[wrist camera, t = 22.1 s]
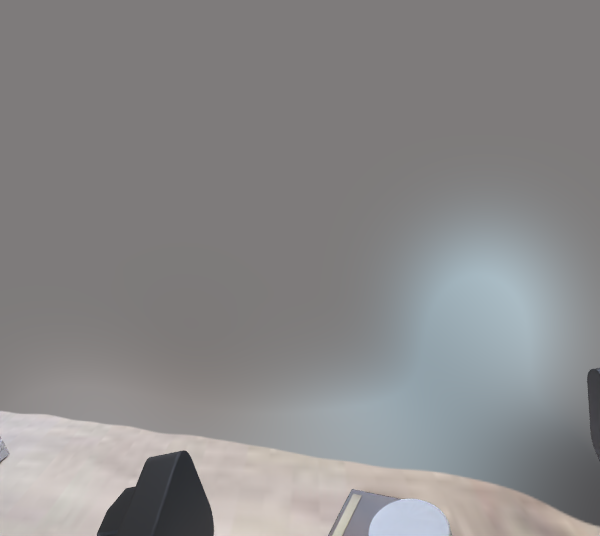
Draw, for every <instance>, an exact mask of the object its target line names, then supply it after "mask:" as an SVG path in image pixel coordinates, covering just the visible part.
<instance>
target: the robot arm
mask: <svg viewBox="0 0 600 536" xmlns="http://www.w3.org/2000/svg"><path fill="white" fill-rule="evenodd" d="M587 383H588V398H589V413H590V429H591V438H592V442H593V446H594V449H595V452H596V454H597V457H598V459H599V461H600V368H596V369H591V370H590V371H589V373H588V377H587ZM213 535H214V525H213V516H212V511H211V507H210V505H209V502H208V499H207V497H206V494H205V492H204V489H203V487H202V484H201V482H200V479H199V477H198V474H197V471H196V469H195V466H194V464H193V461H192V459H191V457H190V455H189V453H188V452H187V451H179V452H174V453H169V454H164V455H159V456H154V457H150V458H148V459H147V461H146V462H145V465H144V467H143V470H142V472H141V475H140V477H139V480H138V482H137V485H136V487H131V488H126V489H125V490H124V491H123V493H122V494H121V495H120V496H119V497H118V499H117V500H116V501H115V502H114V503H113V504H112V506H111V507H110V508H109V509H108V510H107V512H106V515H105V517H104V519H103V521H102V524H101V526H100V528H99V531H98V533H97V536H213Z"/></svg>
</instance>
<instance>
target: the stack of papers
mask: <svg viewBox="0 0 600 536" xmlns="http://www.w3.org/2000/svg"><path fill="white" fill-rule="evenodd" d="M0 439H1V437H0ZM4 446H5V444H4V442H3V441H1V440H0V461H2V460H3V459H4V458H5V457H6V456H7V455H8V454H9V452H8V450H7V448H6V447H4Z"/></svg>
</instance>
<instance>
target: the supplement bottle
mask: <svg viewBox="0 0 600 536" xmlns="http://www.w3.org/2000/svg"><path fill="white" fill-rule="evenodd" d="M369 536H452V533H451V529H450V525H449V522H448V520H447V518H446V516H445V515H444V514H443V512H442V511H441V510H440V509H439V508H437V507H436V506H435V505H433V504H431V503H429V502H426V501H423V500H419V499H402V500H398V501H395V502H392V503H390V504H388V505H386V506H385V507H383V508H382V509H381V510H380V511H379V512H378V513H377V514H376V515H375V516H374V518H373V520H372V522H371V524H370V527H369Z"/></svg>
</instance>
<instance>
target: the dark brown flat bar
mask: <svg viewBox="0 0 600 536" xmlns="http://www.w3.org/2000/svg"><path fill="white" fill-rule="evenodd" d="M398 500H401V499H398V498H393V497H389V496H384V495H379V494H374V493H369V492H364V491H359V490H354V489H352V490H351V492H350V494H349V496H348V498H347V500H346V502H345V504H344V506H343V507H342V509H341V511H340V513H339V515H338V517H337V519H336V521H335V523H334V525H333V527H332V529H331V531H330V533H329V535H328V536H369V527H370V524H371V522H372V520H373V518H374V516H375V515H376V514H377V513H378V512H379V511H380V510H381V509H382V508H383V507H385V506H386V505H388V504H390V503H392V502H395V501H398Z"/></svg>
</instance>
